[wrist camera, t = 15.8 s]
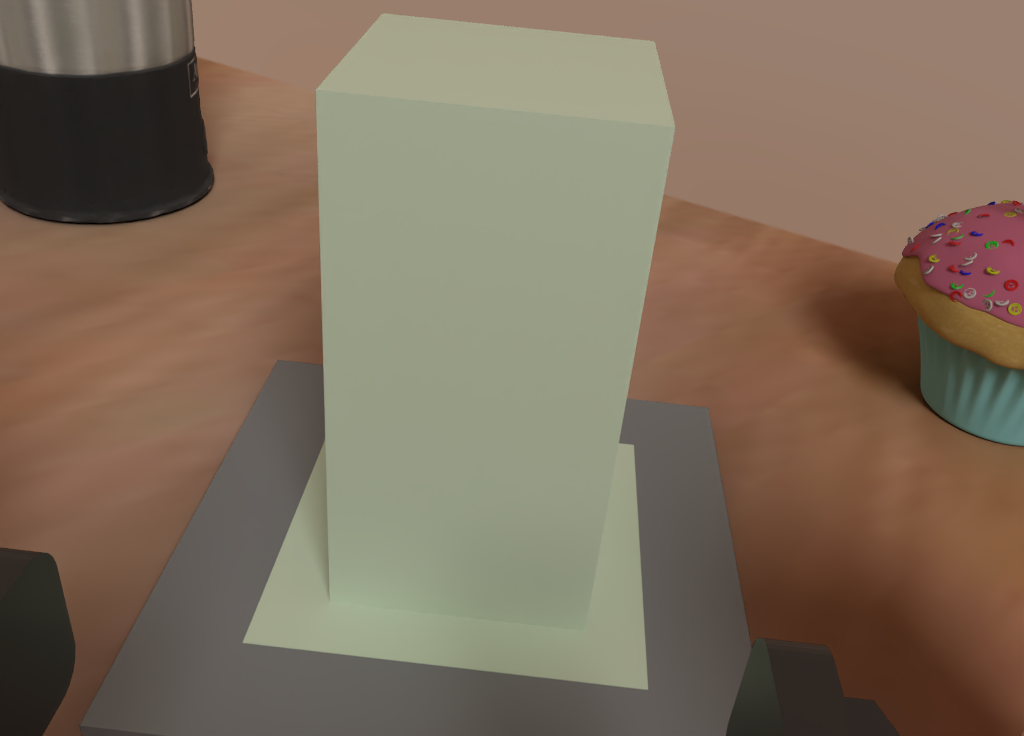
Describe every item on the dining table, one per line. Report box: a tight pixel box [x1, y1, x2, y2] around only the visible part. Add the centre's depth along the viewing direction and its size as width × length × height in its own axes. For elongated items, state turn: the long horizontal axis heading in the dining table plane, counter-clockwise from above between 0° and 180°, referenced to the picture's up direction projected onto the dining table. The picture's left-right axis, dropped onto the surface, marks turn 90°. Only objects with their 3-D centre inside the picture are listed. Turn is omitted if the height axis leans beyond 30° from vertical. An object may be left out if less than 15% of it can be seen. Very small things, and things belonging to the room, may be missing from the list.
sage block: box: [316, 14, 675, 631], centre depth 21 cm, size 6×6×12 cm
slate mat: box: [79, 360, 752, 736], centre depth 25 cm, size 14×14×1 cm
